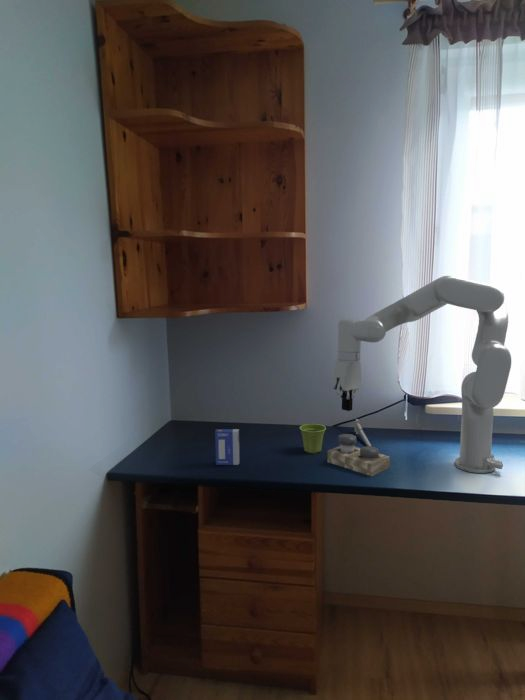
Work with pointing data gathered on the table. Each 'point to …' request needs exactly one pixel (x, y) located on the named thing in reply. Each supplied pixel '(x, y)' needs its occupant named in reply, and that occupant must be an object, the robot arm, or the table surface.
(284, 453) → the table surface
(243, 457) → the table surface
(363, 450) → the knob near
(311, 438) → the plant pot
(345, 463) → the mount
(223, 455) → the blue upright box
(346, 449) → the knob far
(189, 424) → the table surface
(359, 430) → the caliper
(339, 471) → the table surface
